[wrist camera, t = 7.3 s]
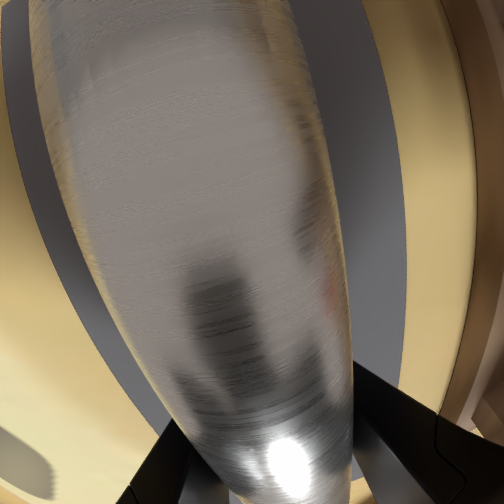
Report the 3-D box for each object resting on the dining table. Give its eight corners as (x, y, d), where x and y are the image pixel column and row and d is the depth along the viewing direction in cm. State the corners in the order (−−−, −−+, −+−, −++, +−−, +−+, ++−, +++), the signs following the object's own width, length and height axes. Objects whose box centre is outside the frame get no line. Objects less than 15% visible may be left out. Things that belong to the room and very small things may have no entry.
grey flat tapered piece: (377, 464, 13) (380, 470, 13) (228, 501, 13) (228, 508, 13) (315, -78, 4) (320, -86, 4) (10, 11, 4) (1, 7, 4)
